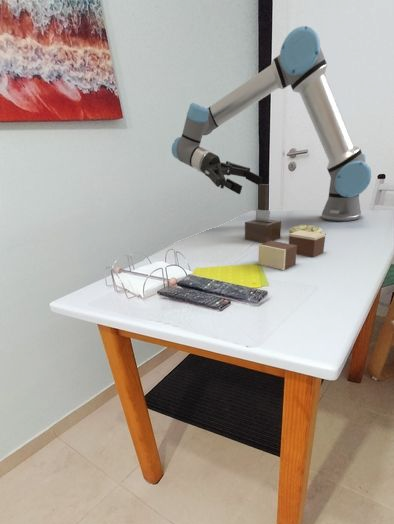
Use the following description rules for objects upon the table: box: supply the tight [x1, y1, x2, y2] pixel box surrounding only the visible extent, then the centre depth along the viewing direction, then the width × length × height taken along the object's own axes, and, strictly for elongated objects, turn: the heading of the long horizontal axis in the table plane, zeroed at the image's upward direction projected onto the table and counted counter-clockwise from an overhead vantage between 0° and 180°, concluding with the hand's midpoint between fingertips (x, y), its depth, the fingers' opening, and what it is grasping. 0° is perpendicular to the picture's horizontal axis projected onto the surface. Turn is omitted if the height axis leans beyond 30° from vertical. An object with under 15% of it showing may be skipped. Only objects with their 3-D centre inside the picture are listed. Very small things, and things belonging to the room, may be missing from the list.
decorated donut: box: [288, 224, 323, 234], centre depth 119 cm, size 10×11×4 cm
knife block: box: [244, 218, 282, 244], centre depth 121 cm, size 8×10×6 cm
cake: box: [288, 230, 326, 258], centre depth 104 cm, size 6×9×6 cm, turn 41°
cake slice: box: [257, 240, 297, 271], centre depth 96 cm, size 6×9×6 cm
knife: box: [255, 183, 271, 223], centre depth 118 cm, size 2×6×18 cm, turn 41°
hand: (251, 185), depth 121 cm, fingers open, 13 cm apart
